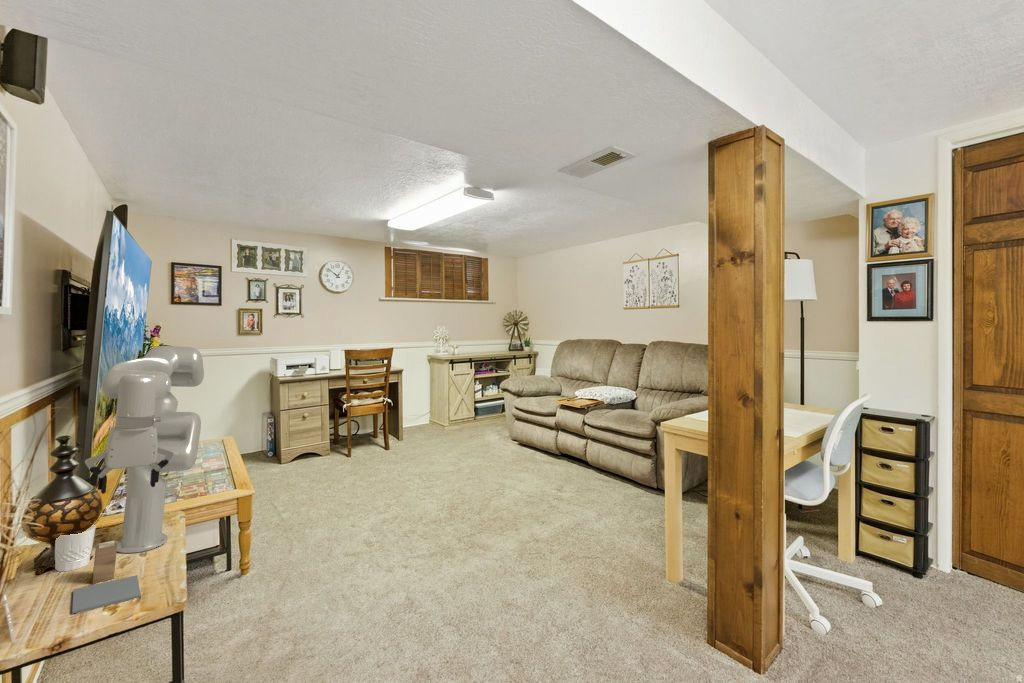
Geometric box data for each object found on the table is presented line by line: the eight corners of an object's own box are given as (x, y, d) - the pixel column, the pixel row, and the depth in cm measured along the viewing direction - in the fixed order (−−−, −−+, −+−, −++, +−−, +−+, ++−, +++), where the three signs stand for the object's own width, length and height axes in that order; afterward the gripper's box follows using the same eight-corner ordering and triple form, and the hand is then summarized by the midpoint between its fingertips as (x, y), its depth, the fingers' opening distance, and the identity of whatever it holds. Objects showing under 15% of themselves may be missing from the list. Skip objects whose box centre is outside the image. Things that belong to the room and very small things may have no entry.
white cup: (86, 556, 126) (90, 521, 126) (96, 564, 122) (100, 528, 122) (47, 566, 119) (51, 529, 120) (56, 576, 115) (60, 537, 116)
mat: (73, 591, 109) (73, 589, 109) (136, 577, 117) (136, 575, 117) (72, 614, 100) (72, 611, 100) (140, 597, 109) (140, 594, 109)
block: (92, 577, 116) (96, 543, 116) (113, 573, 118) (116, 539, 119) (92, 584, 113) (96, 548, 113) (113, 579, 115) (117, 544, 116)
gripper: (174, 418, 122) (168, 479, 122) (87, 422, 110) (81, 490, 109) (179, 422, 117) (173, 487, 117) (89, 427, 104) (82, 499, 104)
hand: (128, 488), depth 113 cm, fingers open, 9 cm apart
